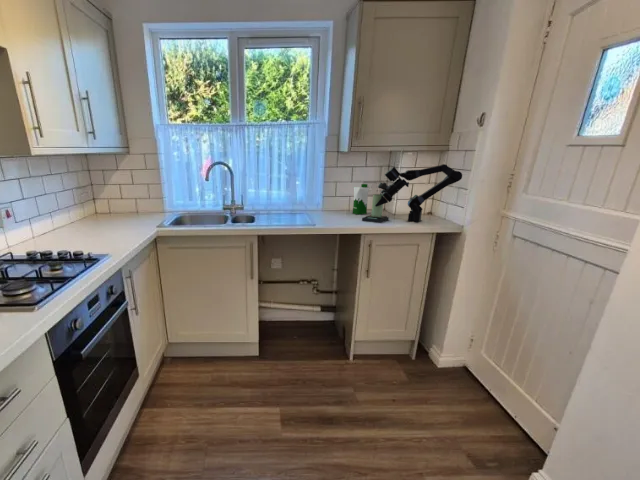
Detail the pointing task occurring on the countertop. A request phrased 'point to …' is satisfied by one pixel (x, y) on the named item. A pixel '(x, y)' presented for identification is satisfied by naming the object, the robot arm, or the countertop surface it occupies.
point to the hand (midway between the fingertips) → (375, 205)
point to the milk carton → (360, 199)
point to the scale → (375, 219)
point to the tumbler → (377, 210)
